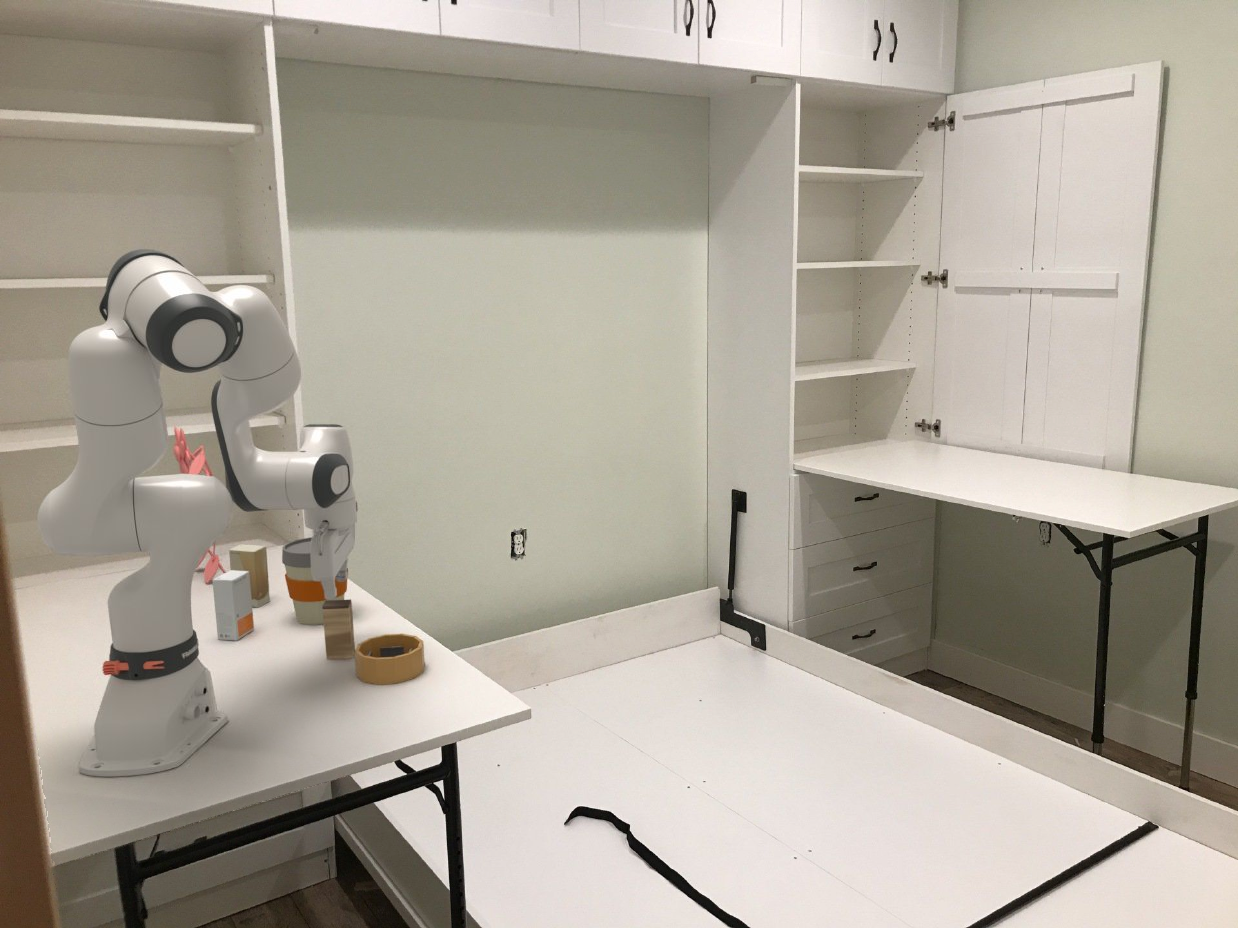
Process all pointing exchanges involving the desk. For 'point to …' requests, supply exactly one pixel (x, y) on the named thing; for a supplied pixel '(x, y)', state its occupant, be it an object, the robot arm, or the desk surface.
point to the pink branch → (196, 467)
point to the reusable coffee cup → (306, 583)
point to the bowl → (389, 659)
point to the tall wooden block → (338, 629)
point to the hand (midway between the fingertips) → (336, 589)
